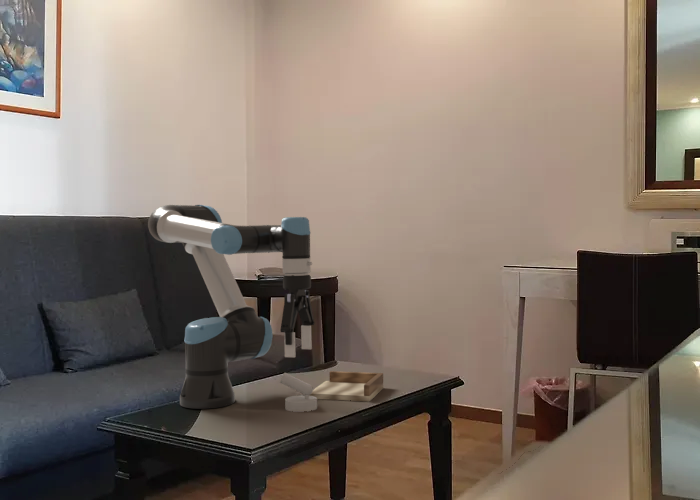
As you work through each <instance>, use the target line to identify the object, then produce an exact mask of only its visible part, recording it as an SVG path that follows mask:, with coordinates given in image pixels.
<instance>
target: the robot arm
mask: <svg viewBox="0 0 700 500" xmlns="http://www.w3.org/2000/svg"><path fill="white" fill-rule="evenodd" d="M147 221H148V222H147V228H148V230H149V234H150V235H151V236H152V237H153V238H154V239H155V240H156V241H159V242H163V243H169V244H172V243H173V244H174V243H175V244H176V243H179V244H180V243H181V244H182V246H183V247H184V250H185V252H186V253H188V254H190V255H192V256H193V258H194V261H195V263H196V265H197V267H198V270H199V272H200V274H201V277H202V278H203V281H204V284H205V285H206V288H207V290H208V292H209V295H210V297H211V300H212V302H213V305H214V306H215V309H216V310H217V313H218V315H219V316H212V317H209V318H208V317H204V318H200V319H197V320H194V321H191V322H189V323H187V325H186V326H185V328H184V329H185V330H184V340H183V341H184V349H185V350H184V355H185V356H184V357H185V378H184V381H183V384H182V387H181V391H180V394H179V405H180V407H183V408H187V409H198V410H201V409H202V410H203V409H204V410H205V409H217V408H223V407H227V406H229V405H230V406H231V405H233V404H234V403H235V401H236V400H235V399H236V397H235V391H234V387H233V384H232V382H231V379H230V376H229V367H228V366H229V365H228V363H231V362H238V361H244V360H254V359H256V358H259V357H263V356H265V355H266V354H267V353H268V352H269V350H270V348H271V346H272V342H273V334H274V333H273V328H272V325H271V323H270V321H269V319H267V318H265V317H264V316H258V315H257V314H258V313H257V312H256V310H255V308H254V307H253V306H251V305H247V303H246V300H245V297H244V296H243V294H242V292H241V290H240V287H239V284H238V283H237V281H236V278H235V277H234V274H233V271H232V270H231V268H230V266H229V264H228V262H227V261H228V260H227V259H226V256H225V255H228V256H230V255H239V254H240V255H241V254H260V253H261V254H262V253H264V254H265V253H268V254H269V253H282V274H284V275H283V276H282V288H283V289H284V290H289V292H288V293H285V294H284V296H283V297H284V299H283V302H284V303H283V308H282V309H283V310H282V317H281V323H280V333H283V334H284V335H283V336H284V337H283V339H284V342H283V343H284V358H296V332H294V330H295V327H296V321H297V316H298V315H299V318H300V321H301V323H302V325H301V326H300V332H301V333H300V335H301V337H300V339H301V344H300V345H301V350H312V349H313V347H312V346H313V345H312V326H315V320H314V314H313V313H314V312H313V308H312V303H311V296H310V290H309V289H311V287H312V276H311V275H310V273H311V266H312V265H313V262H312V261H311V229H310V220H309V218H307V216H306V217H305V216H295V217H294V216H293V217H292V216H290V217H283V218H282V219H281V224H280V225H277V224H276V225H275V224H274V225H271V224H270V225H269V224H266V225H265V224H262V225H259V224H258V225H234V224H231V223H230V224H229V223H224V222H223V221H222V218H221V215H220V214H219V212H218V210H216V209H215V208H214V207H212V206H210V205H203V204H195V205H192V204H191V205H186V204H185V205H184V204H182V205H181V204H180V205H179V204H166V205H162V206H160V207H158V208H155V210H153V211H152V213H151V214H150V215H149V217H148V220H147Z"/></svg>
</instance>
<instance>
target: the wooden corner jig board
mask: <svg viewBox="0 0 700 500" xmlns="http://www.w3.org/2000/svg"><path fill="white" fill-rule="evenodd" d="M328 375H329V380H325V381H324V382H322V383H321V384H319V385H318V386H316V387H315V388H313V392H312V394H310V395H309V396H314V397H316V398H317V400H327V401H328V400H329V401H331V400H332V401H333V400H334V401H350V400H351V401H352V402H371V401H372V400H373V398H375V397H376V396H377V395H378V393H380V392H381V391H382V390H384V373H383V372H363V371H360V372H359V371H340V370H339V371H338V370H337V371H335V370H334V371H332V370H330V371H329V374H328ZM351 401H350V402H351Z"/></svg>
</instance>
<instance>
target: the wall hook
mask: <svg viewBox="0 0 700 500" xmlns="http://www.w3.org/2000/svg"><path fill="white" fill-rule="evenodd" d="M279 383H280V384H281V385H284V386H287V387H289V388H290V389H292V390H295V391H296V392H299V393H301V395H291V396H287V397H285V400H284V402H285V403H284V404H285V405H284V407H285V409H284V410H285V411H288V412H292V411H293V412H294V413H304V411H307V412H311V410H312V411H315V410H317V409H318V399H317V398H316V397H314V396H309V395H310V394H312V392H313V389H314V388H313V386H312V384H310V383H308V382H306V381H304V380H302V379H299V378H297V376H293V375H291V374H289V373H287V372H284V373H283V374H282V376H281V378H280V380H279Z"/></svg>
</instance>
